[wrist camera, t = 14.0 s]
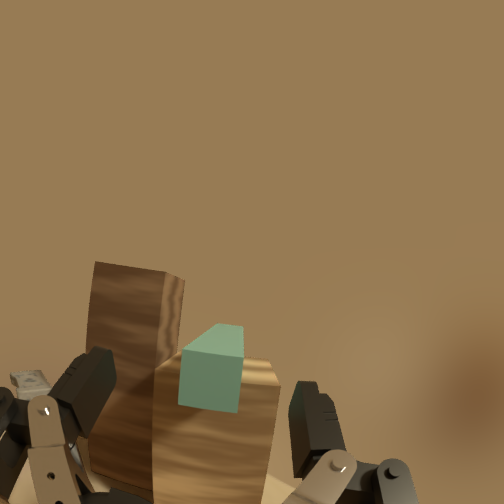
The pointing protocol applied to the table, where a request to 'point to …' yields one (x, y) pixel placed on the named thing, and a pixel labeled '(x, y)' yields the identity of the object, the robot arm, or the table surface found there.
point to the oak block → (213, 440)
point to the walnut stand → (131, 363)
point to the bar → (213, 369)
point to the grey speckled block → (30, 384)
